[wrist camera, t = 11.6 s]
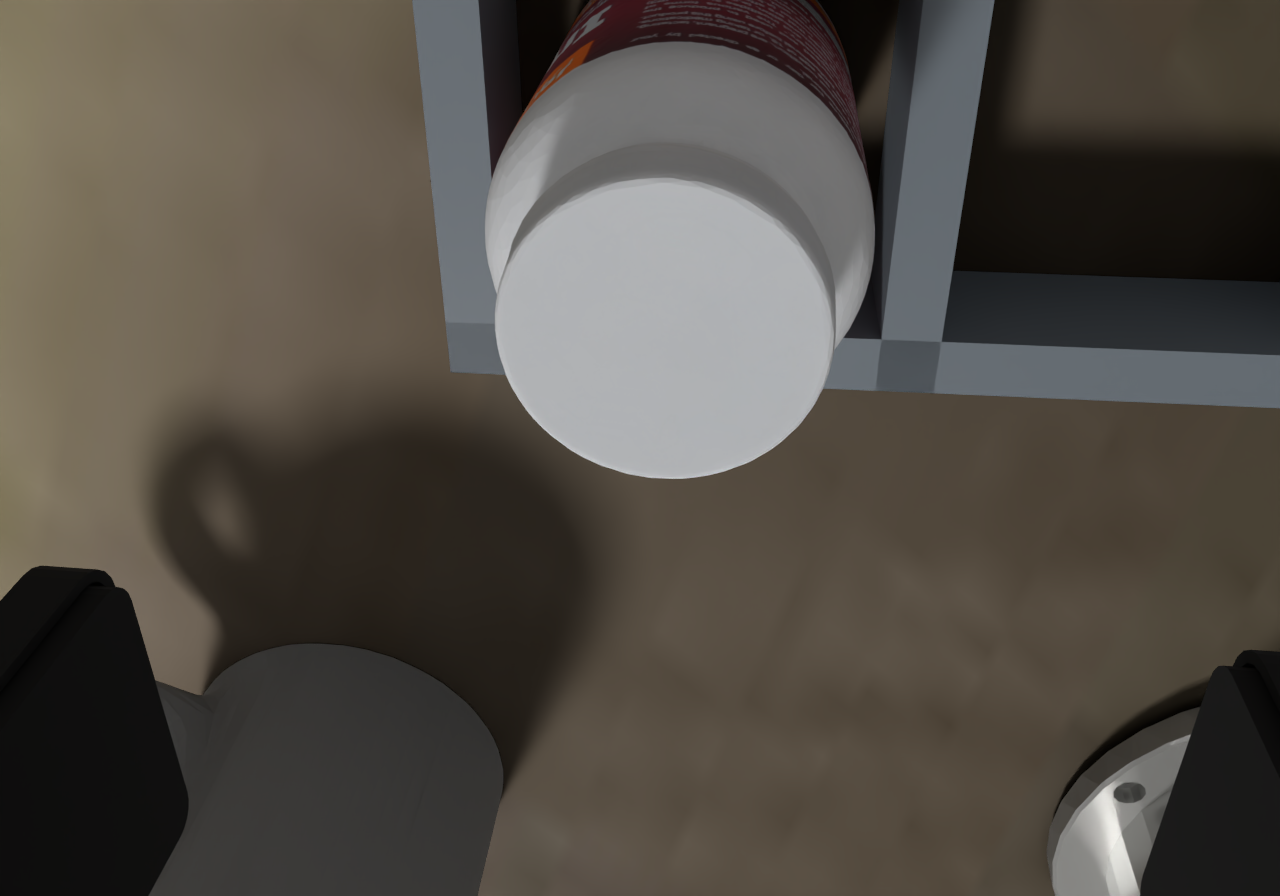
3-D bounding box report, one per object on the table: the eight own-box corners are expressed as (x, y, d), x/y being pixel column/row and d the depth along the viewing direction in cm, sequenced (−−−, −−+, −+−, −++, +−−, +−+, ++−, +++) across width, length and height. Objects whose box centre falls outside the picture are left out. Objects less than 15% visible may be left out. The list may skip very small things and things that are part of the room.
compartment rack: (1318, 332, 27) (1385, 412, 24) (483, 300, 28) (450, 372, 25) (1505, -200, 21) (1624, -180, 18) (441, -205, 22) (393, -188, 19)
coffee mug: (560, 816, 38) (503, 1134, 30) (319, 887, 41) (206, 1192, 33) (316, 512, 32) (159, 803, 24) (56, 623, 35) (-163, 913, 27)
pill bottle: (576, -87, 23) (451, 64, 14) (883, -31, 23) (957, 155, 14) (544, 206, 27) (426, 482, 18) (811, 254, 27) (833, 554, 18)
